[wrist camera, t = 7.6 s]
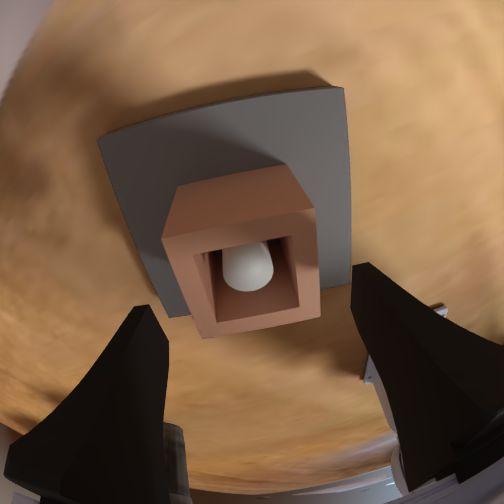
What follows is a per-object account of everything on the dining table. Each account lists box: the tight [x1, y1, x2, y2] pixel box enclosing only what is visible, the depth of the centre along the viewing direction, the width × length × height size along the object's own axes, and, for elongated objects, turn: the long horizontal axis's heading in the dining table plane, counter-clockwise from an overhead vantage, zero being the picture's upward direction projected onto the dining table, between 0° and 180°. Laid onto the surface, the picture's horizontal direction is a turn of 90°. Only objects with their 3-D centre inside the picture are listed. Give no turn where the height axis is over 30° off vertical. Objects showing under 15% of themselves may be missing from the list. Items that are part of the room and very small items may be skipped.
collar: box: [161, 164, 321, 339], centre depth 14 cm, size 5×5×5 cm
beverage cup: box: [163, 423, 193, 504], centre depth 24 cm, size 7×7×20 cm
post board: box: [97, 86, 351, 318], centre depth 15 cm, size 12×12×6 cm
